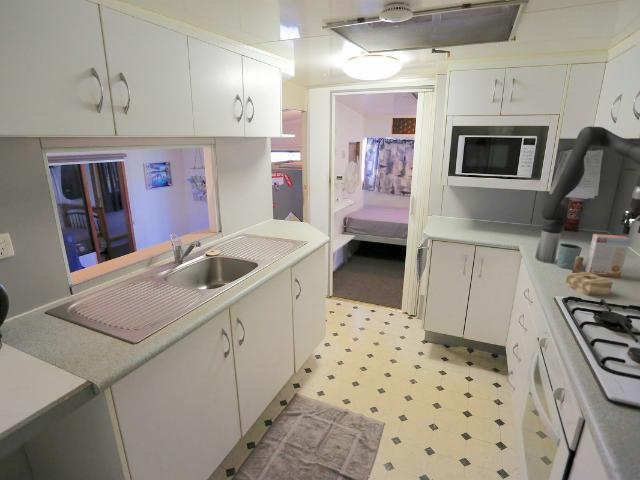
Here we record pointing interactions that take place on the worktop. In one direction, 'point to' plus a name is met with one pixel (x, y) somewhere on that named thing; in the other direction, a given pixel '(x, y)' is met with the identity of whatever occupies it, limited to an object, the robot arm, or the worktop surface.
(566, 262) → the teal ceramic cylinder
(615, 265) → the cracker box
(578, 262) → the walnut peg
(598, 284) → the oak bore block
